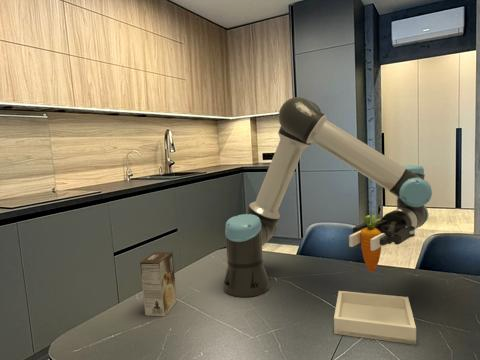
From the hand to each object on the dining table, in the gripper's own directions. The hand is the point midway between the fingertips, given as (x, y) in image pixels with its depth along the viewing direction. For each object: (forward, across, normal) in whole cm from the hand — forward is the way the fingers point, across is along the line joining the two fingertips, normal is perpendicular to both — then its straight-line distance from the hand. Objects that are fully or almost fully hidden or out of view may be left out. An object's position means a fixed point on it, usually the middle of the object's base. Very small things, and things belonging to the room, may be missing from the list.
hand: (361, 243), depth 83 cm
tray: (-5, 0, -22) cm, 23 cm away
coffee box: (+26, +50, -22) cm, 61 cm away
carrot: (-5, 0, -9) cm, 11 cm away
